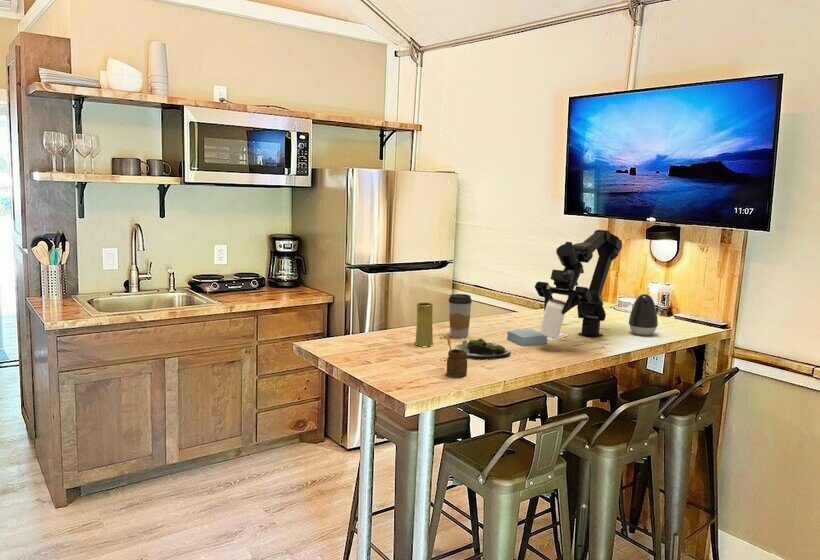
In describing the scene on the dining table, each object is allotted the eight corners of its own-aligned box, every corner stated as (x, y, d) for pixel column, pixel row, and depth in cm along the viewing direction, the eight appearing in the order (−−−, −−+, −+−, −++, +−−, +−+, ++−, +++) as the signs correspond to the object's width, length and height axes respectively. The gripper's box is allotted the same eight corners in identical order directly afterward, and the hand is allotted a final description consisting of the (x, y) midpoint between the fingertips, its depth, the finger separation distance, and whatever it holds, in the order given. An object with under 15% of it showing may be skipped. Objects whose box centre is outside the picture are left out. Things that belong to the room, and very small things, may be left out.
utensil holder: (463, 378, 184) (464, 337, 182) (442, 376, 186) (443, 335, 184) (469, 373, 189) (470, 333, 187) (449, 370, 191) (450, 331, 190)
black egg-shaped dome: (628, 336, 238) (631, 295, 236) (627, 330, 248) (630, 291, 246) (658, 338, 236) (661, 297, 233) (655, 332, 246) (658, 292, 243)
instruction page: (548, 330, 245) (548, 330, 245) (569, 334, 239) (569, 334, 239) (531, 336, 236) (531, 335, 236) (553, 340, 230) (553, 339, 230)
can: (549, 339, 212) (558, 304, 210) (535, 332, 217) (543, 298, 215) (562, 338, 216) (571, 304, 214) (548, 331, 221) (556, 298, 219)
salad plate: (442, 347, 219) (442, 334, 219) (488, 343, 226) (489, 330, 225) (466, 362, 201) (467, 348, 201) (517, 358, 208) (517, 344, 207)
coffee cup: (472, 334, 236) (473, 294, 234) (468, 340, 228) (469, 298, 226) (450, 333, 239) (451, 293, 236) (445, 338, 231) (446, 296, 228)
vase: (412, 345, 219) (413, 304, 217) (418, 341, 225) (419, 301, 223) (429, 347, 217) (430, 306, 215) (435, 343, 223) (436, 303, 221)
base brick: (530, 337, 234) (531, 329, 234) (547, 343, 225) (547, 335, 225) (507, 339, 231) (507, 331, 230) (522, 346, 221) (522, 337, 221)
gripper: (538, 258, 221) (520, 294, 214) (589, 263, 209) (573, 301, 202) (548, 278, 228) (531, 313, 221) (598, 284, 216) (582, 321, 210)
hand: (553, 312), depth 214 cm, fingers closed on can, 6 cm apart
